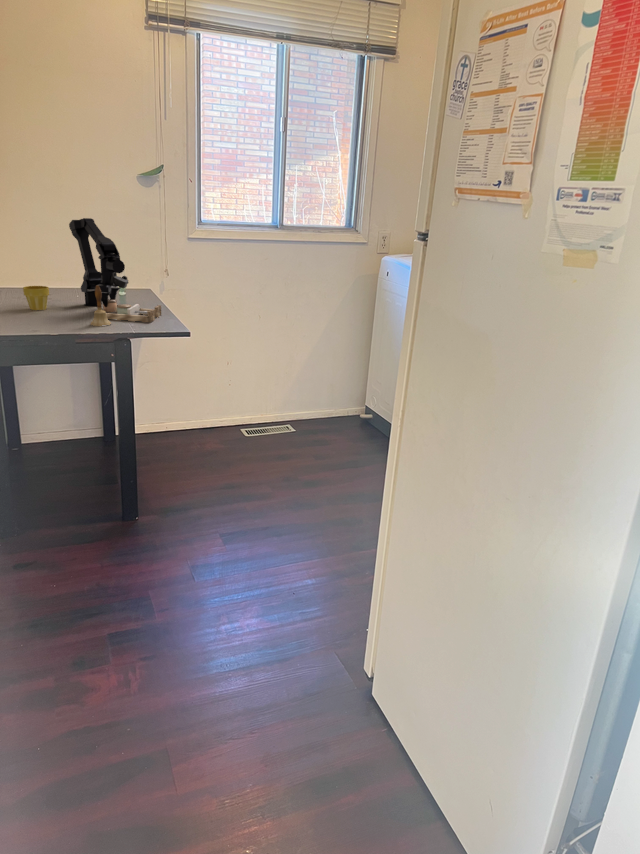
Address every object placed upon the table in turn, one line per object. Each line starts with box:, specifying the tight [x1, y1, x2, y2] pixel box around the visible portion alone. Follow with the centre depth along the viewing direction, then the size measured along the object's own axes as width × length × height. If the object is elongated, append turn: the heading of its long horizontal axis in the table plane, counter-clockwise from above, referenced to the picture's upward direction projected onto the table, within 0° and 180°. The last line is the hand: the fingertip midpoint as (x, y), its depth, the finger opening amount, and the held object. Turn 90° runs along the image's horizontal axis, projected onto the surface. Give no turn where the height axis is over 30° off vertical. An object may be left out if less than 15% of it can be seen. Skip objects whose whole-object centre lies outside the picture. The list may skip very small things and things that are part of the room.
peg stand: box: [127, 303, 148, 315], centre depth 272 cm, size 7×13×4 cm, turn 178°
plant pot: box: [22, 285, 50, 311], centre depth 274 cm, size 10×10×10 cm
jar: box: [102, 298, 118, 313], centre depth 281 cm, size 6×6×5 cm
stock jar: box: [116, 303, 132, 315], centre depth 272 cm, size 6×6×5 cm
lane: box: [106, 304, 162, 323], centre depth 272 cm, size 21×16×5 cm
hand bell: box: [90, 285, 112, 327], centre depth 253 cm, size 8×8×16 cm
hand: (109, 305), depth 281 cm, fingers open, 9 cm apart
